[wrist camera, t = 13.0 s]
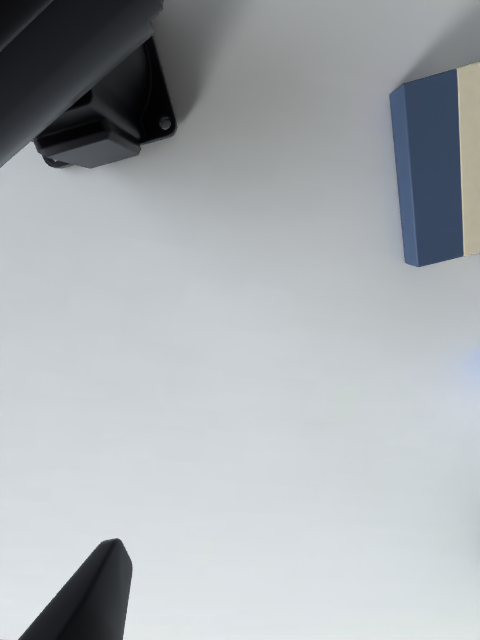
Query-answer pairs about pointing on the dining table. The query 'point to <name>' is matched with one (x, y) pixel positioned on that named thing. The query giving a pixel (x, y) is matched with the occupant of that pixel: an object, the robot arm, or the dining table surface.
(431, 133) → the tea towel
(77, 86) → the robot arm
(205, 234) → the dining table surface
